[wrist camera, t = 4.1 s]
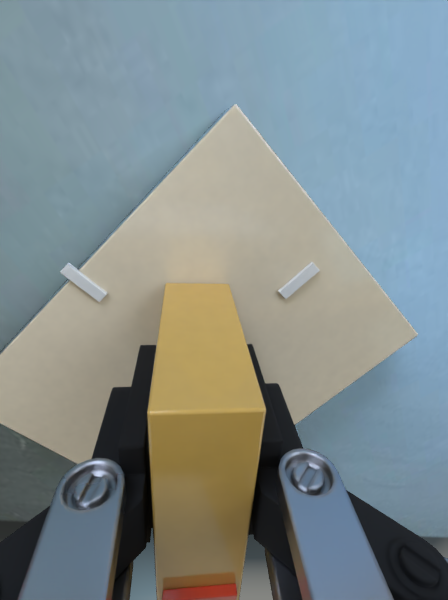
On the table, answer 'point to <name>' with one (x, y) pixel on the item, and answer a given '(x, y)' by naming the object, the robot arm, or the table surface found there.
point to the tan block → (202, 444)
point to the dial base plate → (210, 270)
